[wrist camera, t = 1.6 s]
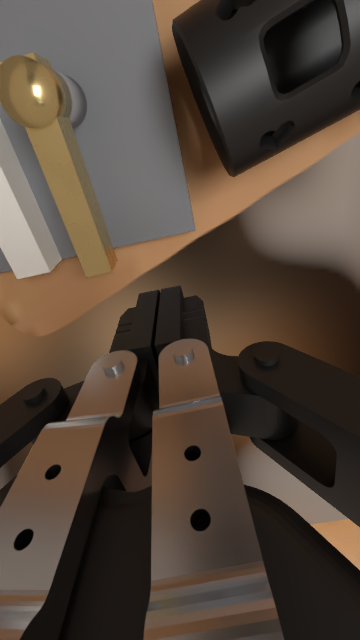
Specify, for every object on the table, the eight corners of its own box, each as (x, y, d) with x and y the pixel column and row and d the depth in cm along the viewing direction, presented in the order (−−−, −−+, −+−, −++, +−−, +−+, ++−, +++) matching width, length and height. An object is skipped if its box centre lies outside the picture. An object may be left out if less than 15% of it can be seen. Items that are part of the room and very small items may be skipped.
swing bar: (9, 73, 18) (-16, 64, 16) (59, 58, 18) (41, 47, 16) (86, 266, 25) (76, 281, 23) (124, 258, 25) (118, 272, 22)
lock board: (-134, 31, 22) (-265, -10, 15) (140, -59, 19) (121, -151, 13) (-2, 267, 31) (-49, 303, 24) (194, 224, 29) (198, 251, 22)
